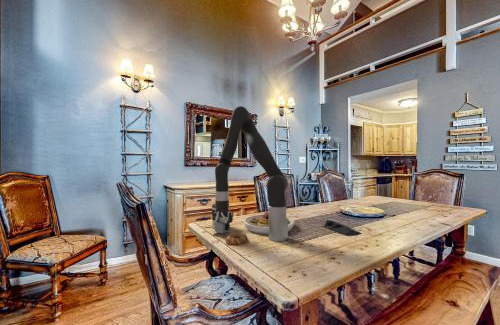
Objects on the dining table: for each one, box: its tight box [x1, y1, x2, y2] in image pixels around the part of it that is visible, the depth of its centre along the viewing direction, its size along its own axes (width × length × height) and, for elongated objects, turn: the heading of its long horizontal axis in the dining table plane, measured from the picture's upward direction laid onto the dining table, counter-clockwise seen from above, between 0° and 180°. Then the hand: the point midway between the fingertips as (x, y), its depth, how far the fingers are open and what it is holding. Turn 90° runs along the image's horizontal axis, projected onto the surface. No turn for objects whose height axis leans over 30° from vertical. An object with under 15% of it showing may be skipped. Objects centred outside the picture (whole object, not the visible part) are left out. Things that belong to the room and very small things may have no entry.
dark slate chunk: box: [321, 219, 363, 237], centre depth 132 cm, size 15×22×5 cm
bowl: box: [243, 210, 295, 235], centre depth 138 cm, size 30×30×8 cm
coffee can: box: [211, 203, 230, 230], centre depth 139 cm, size 10×10×14 cm
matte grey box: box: [214, 220, 231, 233], centre depth 126 cm, size 6×6×5 cm
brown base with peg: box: [212, 231, 232, 238], centre depth 126 cm, size 7×7×6 cm
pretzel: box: [225, 232, 249, 246], centre depth 115 cm, size 12×11×4 cm
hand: (222, 229), depth 126 cm, fingers open, 6 cm apart
